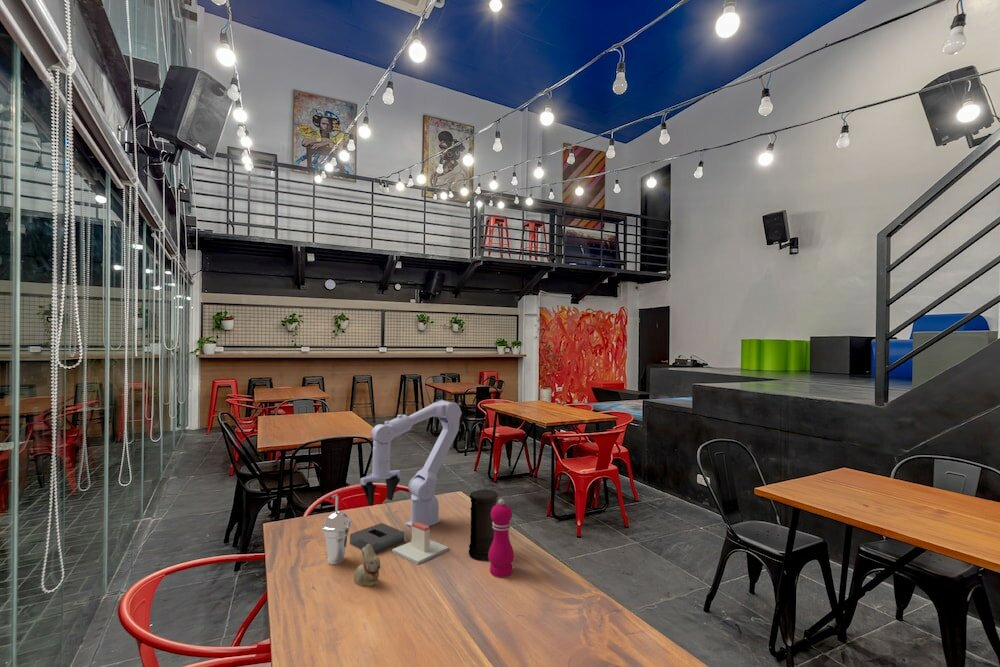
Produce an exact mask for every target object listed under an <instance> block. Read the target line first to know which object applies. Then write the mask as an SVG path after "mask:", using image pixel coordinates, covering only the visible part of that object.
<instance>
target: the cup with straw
mask: <svg viewBox="0 0 1000 667" xmlns="http://www.w3.org/2000/svg"><path fill="white" fill-rule="evenodd" d="M334 498H335V505H334V506H335V511H334V512H331V513H330V514H328V516H327V517H326V518H325V520H324V522H323V523H322V524H321V528H320V530H321V531H322V532H323V534H324V538H325V546H326V555H327V556H326V557H327V562H328V564H330V565H337V564H341V563H343V562H344V561H345V556H346V551H347V550H346V548H347V542H348V535H349V532H350V528H351V527H352V526H353V523H352V520H350V519H349V516H348V515H347V514H346V512H343V511H339V495H338V493H335V494H333V495H331V496H329V500H332V499H334Z"/></svg>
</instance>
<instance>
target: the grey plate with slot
mask: <svg viewBox="0 0 1000 667" xmlns="http://www.w3.org/2000/svg"><path fill="white" fill-rule="evenodd" d="M404 542H405V531H402V530H400V529H397V528H395V527H393V526H390V525H389V524H386V523H383V522H380V523H377V524H375V525H372V526H370V527H369V526H368V527H366V528H363V529H360V530H358V531H355V532H352V533H349V545H352V546H354V547H355V548H357V549H360V550H361V551H362V548H363V547H365V546H366V545H367V544H370V545H371V546H372V547H373V550H374V552H375V554H376V555H377V554H378V553H380V552H382V551H385V550H388V549H390V548H392V547H395V546H397V545H400V544H402V543H404Z"/></svg>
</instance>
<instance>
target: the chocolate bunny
mask: <svg viewBox="0 0 1000 667" xmlns="http://www.w3.org/2000/svg"><path fill="white" fill-rule="evenodd" d="M361 554H362V558H363V564H360V565H359V566H358V567H357V568H356V569H355V571H354V575H353V578H354V580H353V581H354V583H355V584H356V585H358V586H361V587H368V588H370V587H375V586H377V585H378V582H379V580H378V578H379V575H380V571H379V570H380V569H381V559H380V557H379V556H378V555H377V553H376V554H375V552H374V550H373V547H372V546H371V545H370V544H367V545H366V546H365V547H363V548H362V550H361Z"/></svg>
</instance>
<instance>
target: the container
mask: <svg viewBox="0 0 1000 667" xmlns="http://www.w3.org/2000/svg"><path fill="white" fill-rule="evenodd" d="M469 497H470V498H469V499H470V503H471V505H470V536H469V538H470V539H469V541H470V542H469V545H468V548H469V549H468V555H469V557H470V558H471V559H473V560H476V561H489V559H488V553H489V549H490V547H491V544H492V542H493V539H494V529H493V527H492V526H493V524H492V523H493V520H492V518H491V510H492V508H493V507H494V506H495V505H497V501H498V498H499V495H498V492H496V491H495V490H492V489H478V490H473V491H472V492H470V494H469Z"/></svg>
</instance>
